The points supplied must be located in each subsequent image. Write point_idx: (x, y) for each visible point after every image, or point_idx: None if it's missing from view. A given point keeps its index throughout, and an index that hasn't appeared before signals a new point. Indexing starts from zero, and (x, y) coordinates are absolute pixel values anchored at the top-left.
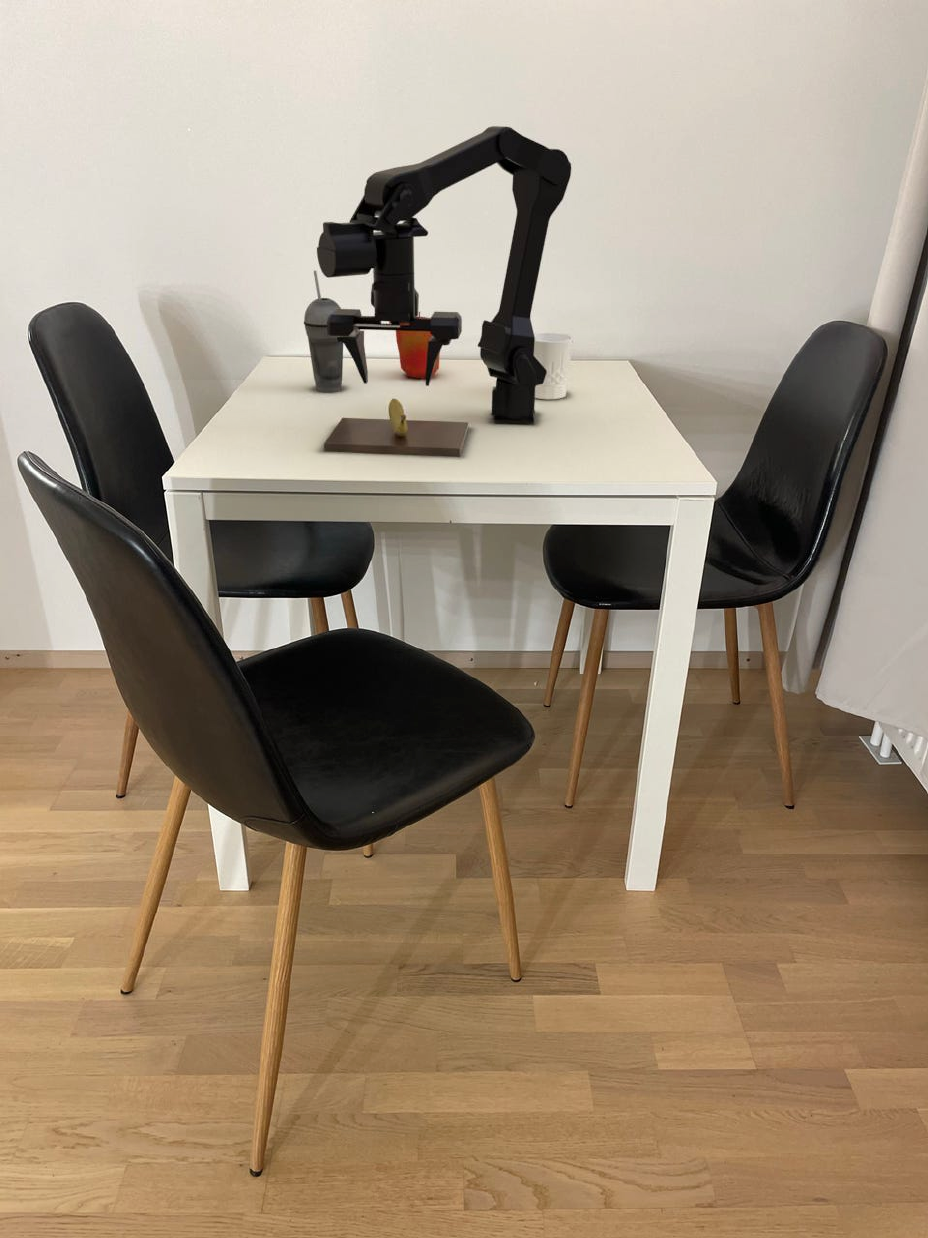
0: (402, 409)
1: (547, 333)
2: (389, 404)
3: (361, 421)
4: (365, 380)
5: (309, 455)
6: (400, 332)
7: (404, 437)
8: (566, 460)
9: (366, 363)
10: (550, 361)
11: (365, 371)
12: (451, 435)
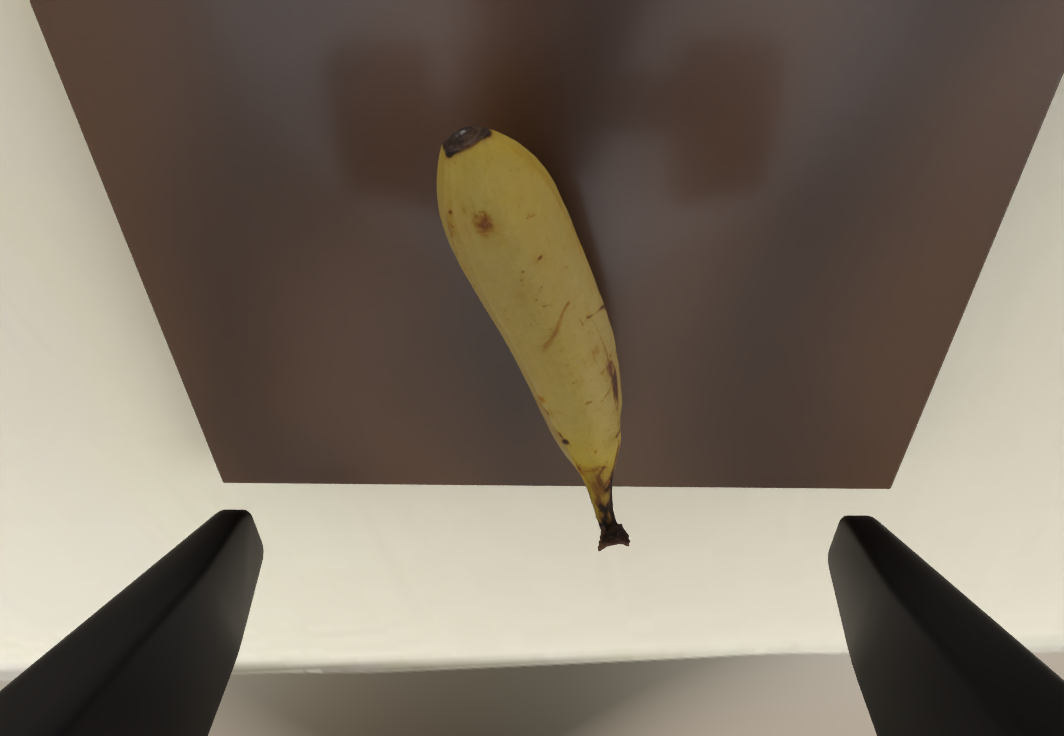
0: (564, 248)
1: None
2: (443, 221)
3: (227, 92)
4: (253, 590)
5: (205, 499)
6: None
7: None
8: None
9: (140, 650)
10: None
11: (218, 662)
12: (884, 316)
